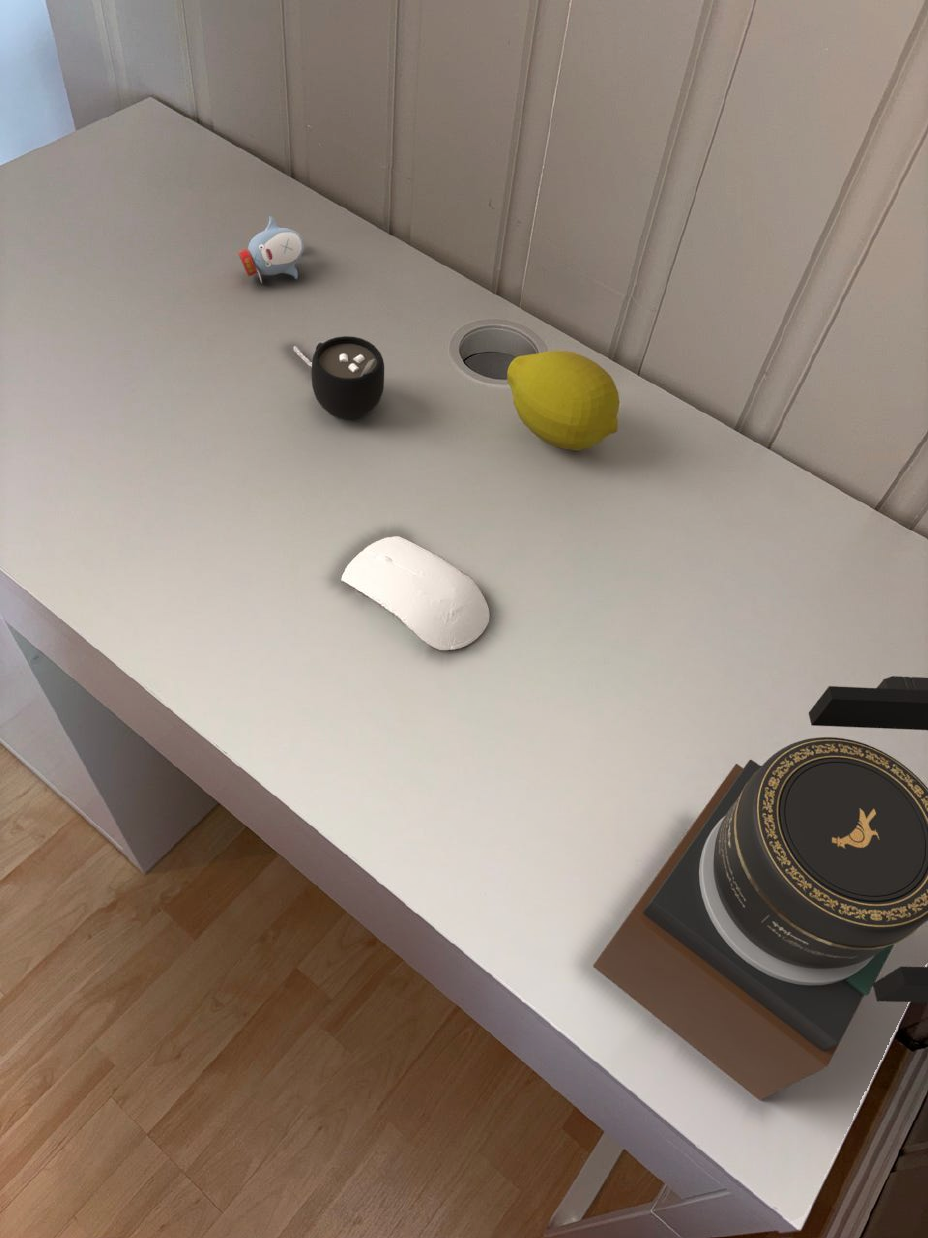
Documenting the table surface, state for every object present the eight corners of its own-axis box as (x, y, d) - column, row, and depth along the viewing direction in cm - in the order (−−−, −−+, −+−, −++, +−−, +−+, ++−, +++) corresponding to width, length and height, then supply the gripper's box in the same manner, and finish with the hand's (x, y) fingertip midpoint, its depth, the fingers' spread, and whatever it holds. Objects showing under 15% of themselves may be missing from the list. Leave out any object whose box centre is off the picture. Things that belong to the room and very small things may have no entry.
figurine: (295, 238, 100) (325, 253, 98) (240, 286, 98) (270, 303, 96) (279, 196, 95) (310, 212, 94) (221, 245, 93) (252, 263, 91)
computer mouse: (391, 528, 80) (392, 510, 78) (504, 613, 76) (508, 595, 74) (331, 576, 76) (331, 557, 74) (447, 666, 73) (449, 649, 71)
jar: (906, 849, 54) (979, 790, 47) (864, 1018, 48) (940, 976, 42) (735, 767, 56) (783, 699, 49) (675, 920, 50) (721, 866, 44)
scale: (847, 942, 63) (942, 873, 53) (759, 1101, 57) (848, 1057, 47) (689, 828, 67) (750, 742, 57) (592, 966, 61) (640, 898, 51)
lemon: (630, 444, 88) (652, 375, 81) (574, 487, 84) (593, 419, 78) (541, 381, 91) (555, 310, 85) (483, 419, 88) (494, 349, 81)
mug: (398, 412, 87) (402, 346, 81) (341, 441, 85) (340, 375, 79) (321, 338, 92) (318, 270, 86) (264, 363, 89) (257, 295, 83)
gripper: (1345, 1148, 43) (882, 1146, 42) (1124, 668, 57) (773, 652, 56) (1509, 1123, 37) (974, 1119, 35) (1216, 592, 51) (824, 572, 50)
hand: (850, 833), depth 46 cm, fingers open, 13 cm apart
